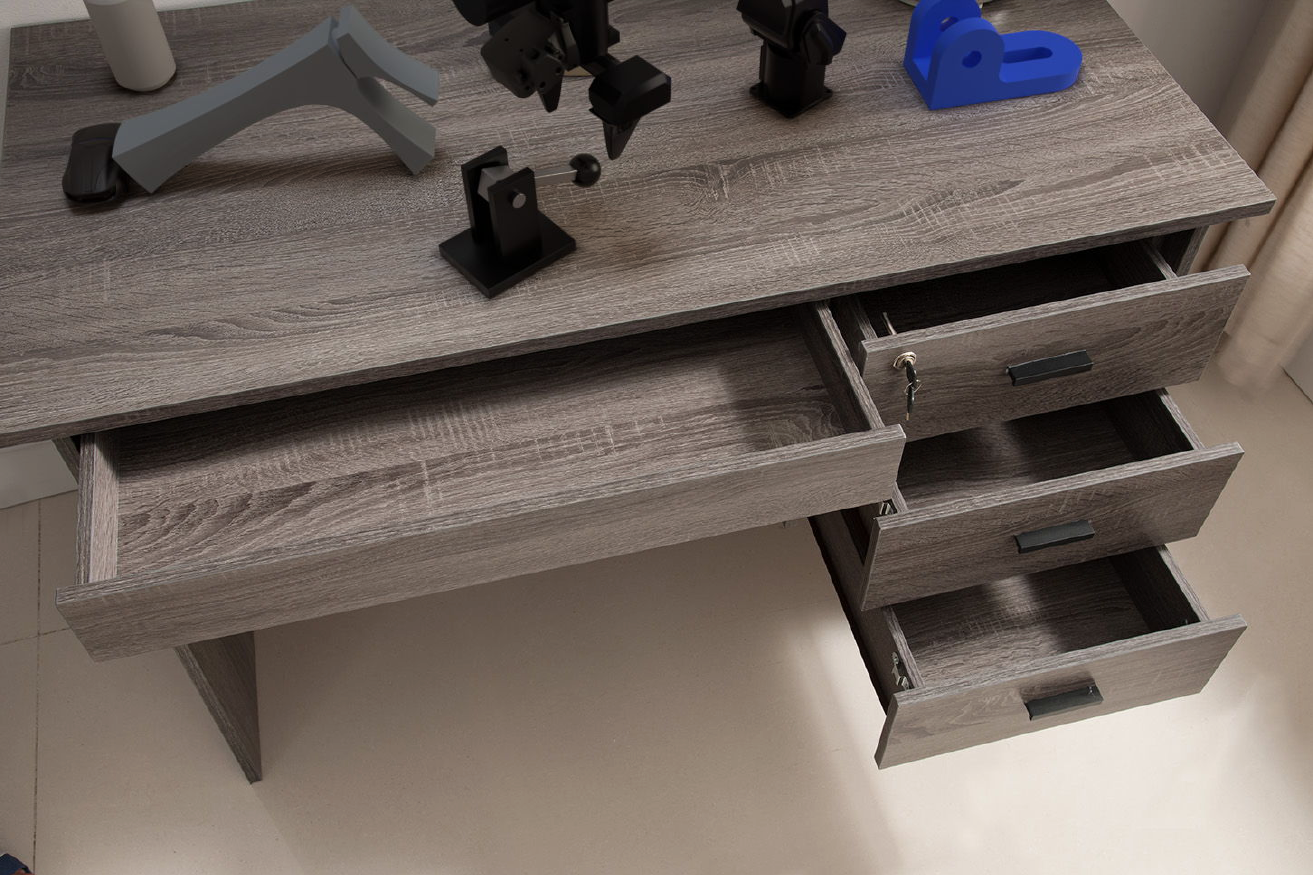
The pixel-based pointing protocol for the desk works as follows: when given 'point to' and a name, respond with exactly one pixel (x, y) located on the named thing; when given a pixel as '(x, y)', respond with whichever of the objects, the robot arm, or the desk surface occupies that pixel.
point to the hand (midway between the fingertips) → (582, 134)
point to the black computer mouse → (94, 167)
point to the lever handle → (549, 174)
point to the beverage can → (133, 42)
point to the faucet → (291, 100)
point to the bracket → (982, 57)
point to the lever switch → (503, 229)
